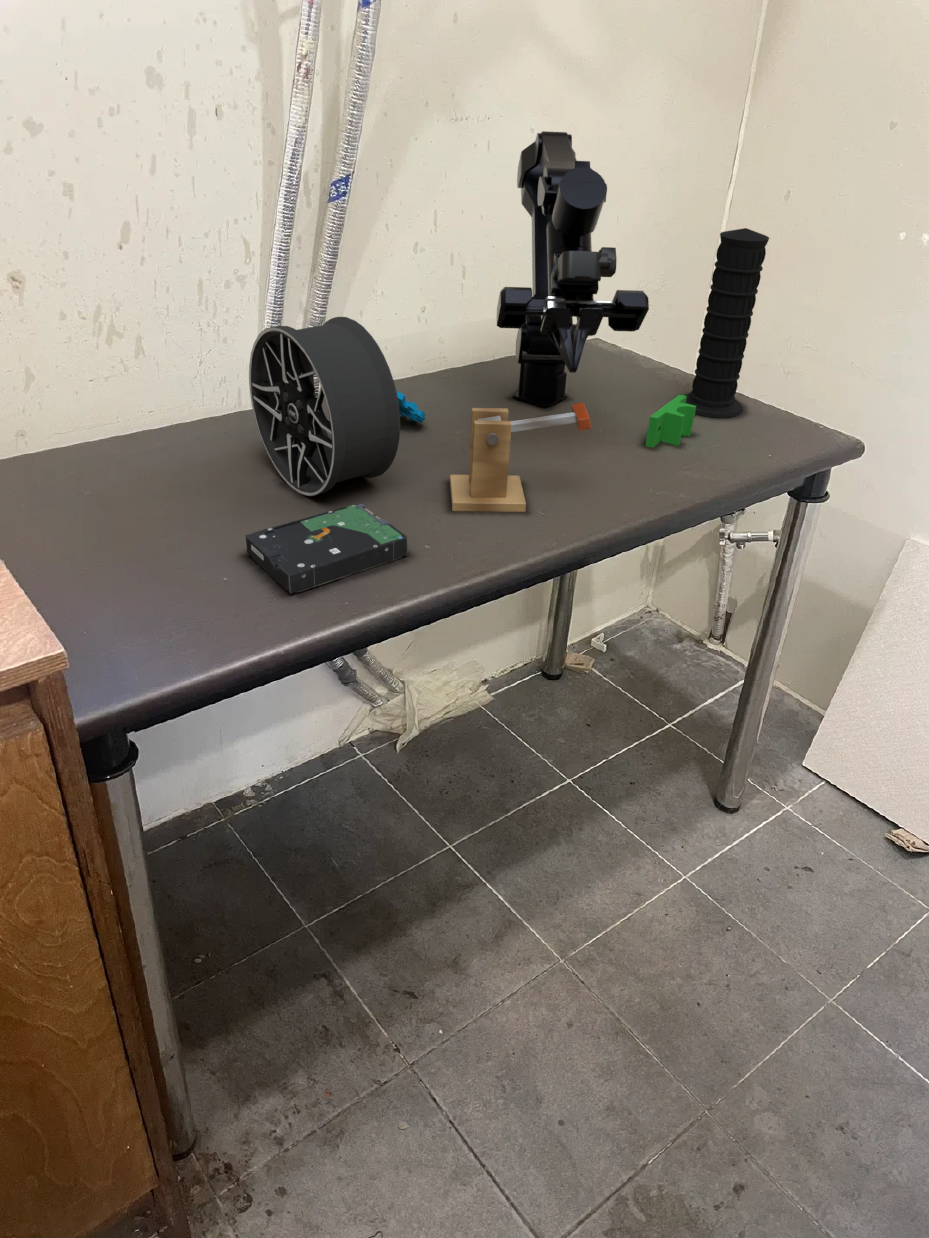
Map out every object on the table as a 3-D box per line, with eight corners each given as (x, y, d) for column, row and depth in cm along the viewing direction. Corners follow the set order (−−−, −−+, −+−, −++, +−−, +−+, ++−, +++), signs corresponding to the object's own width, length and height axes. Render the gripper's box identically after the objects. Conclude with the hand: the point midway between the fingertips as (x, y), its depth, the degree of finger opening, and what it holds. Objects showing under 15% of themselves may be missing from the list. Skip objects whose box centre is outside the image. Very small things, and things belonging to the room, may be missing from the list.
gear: (440, 420, 131) (395, 379, 124) (418, 455, 131) (372, 416, 124) (398, 406, 139) (353, 367, 132) (377, 439, 138) (331, 401, 132)
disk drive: (291, 599, 94) (409, 556, 102) (289, 576, 93) (409, 535, 100) (245, 557, 101) (359, 520, 108) (243, 534, 99) (358, 499, 107)
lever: (584, 417, 112) (583, 398, 111) (591, 433, 108) (590, 414, 107) (478, 432, 113) (476, 414, 111) (481, 449, 109) (479, 430, 107)
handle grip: (678, 413, 142) (744, 421, 140) (711, 232, 127) (785, 238, 125) (679, 391, 150) (741, 398, 148) (709, 219, 135) (779, 224, 133)
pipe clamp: (669, 453, 129) (675, 423, 126) (645, 447, 131) (649, 416, 128) (698, 428, 137) (703, 399, 134) (674, 422, 138) (679, 393, 136)
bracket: (518, 483, 119) (525, 404, 113) (525, 512, 112) (532, 429, 106) (449, 482, 118) (452, 402, 112) (452, 511, 111) (455, 428, 105)
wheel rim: (256, 462, 121) (242, 308, 110) (316, 446, 126) (308, 298, 114) (337, 521, 108) (330, 354, 97) (400, 501, 113) (401, 340, 102)
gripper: (504, 217, 109) (506, 337, 106) (657, 223, 111) (664, 341, 108) (495, 270, 120) (497, 380, 117) (635, 274, 121) (640, 383, 118)
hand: (573, 371), depth 115 cm, fingers closed
